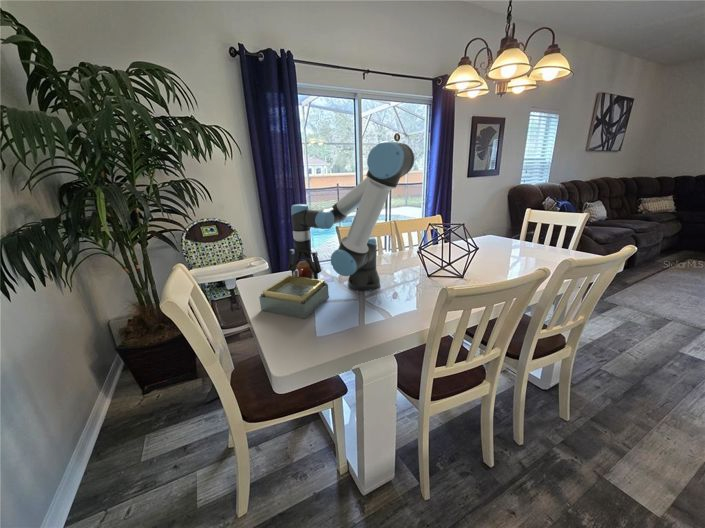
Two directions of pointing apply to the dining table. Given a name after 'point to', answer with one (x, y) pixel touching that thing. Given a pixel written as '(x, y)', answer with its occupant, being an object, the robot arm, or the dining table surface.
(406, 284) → the dining table surface
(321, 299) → the yellow rimmed grey box
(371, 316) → the dining table surface
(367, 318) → the dining table surface
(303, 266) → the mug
